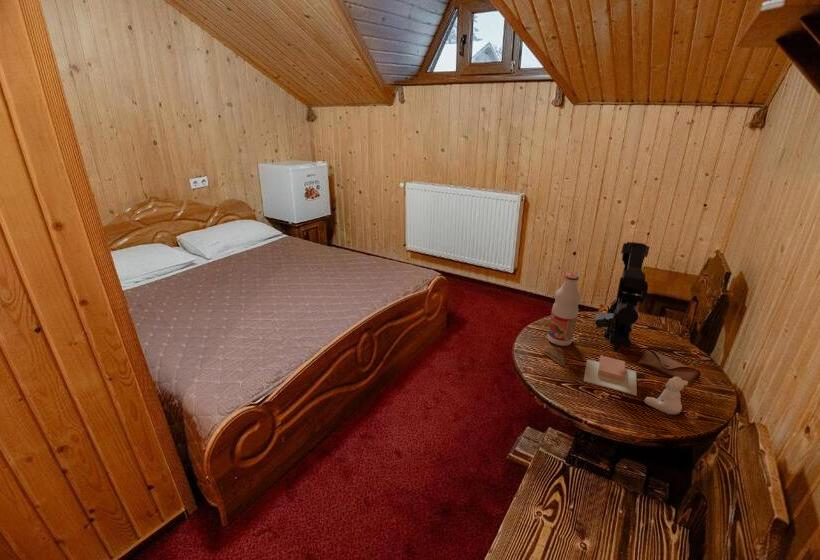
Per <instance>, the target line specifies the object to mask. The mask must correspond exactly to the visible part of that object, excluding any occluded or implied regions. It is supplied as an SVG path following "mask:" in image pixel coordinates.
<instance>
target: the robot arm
mask: <svg viewBox="0 0 820 560" xmlns="http://www.w3.org/2000/svg"><path fill="white" fill-rule="evenodd" d="M649 250H650V246H649V245H647V244H645V243H642V242H635V241H634V242H633V241H632V242H630V241H627V242H625V243H622V247H621V250H620V254H621V255H622V256H621V260H622V263H623V265H624V266H623V271H622V275H621V276H620V278H619V282H618V287H617V292H616V298H615V299H614V300H613V301H611V303H610V306H609V307H608V308H607V310H606V312H605V313H596V314H595V316H594V321H595V327H596V328H597V329H602V328H603V329H604V328H605V329H604V334H603V337H604V338H606V339H607V338H608V339H609V340H608V343H609V344H610V345H613V352H614V353H615V352H616V353H618V351H620V350H621V349H622V348H627V349H630V348H631V346H632V336H631V334H630V333H632V331H633V330H632V326H633V324H635V323H636V322H637V321H638V318H639V308H638V305H639V303H644V301H645V300H646V299H647V296H648V292H649V291H648V290H649V284H648V281H646V274H645V273H644V272H643V270H642V269H643V263H644V259H645V258H648V255H649Z"/></svg>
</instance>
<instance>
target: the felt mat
mask: <svg viewBox="0 0 820 560" xmlns="http://www.w3.org/2000/svg"><path fill="white" fill-rule="evenodd" d="M598 366H599V361H595V360H592V359H588V358H587V359H586V363H585V369H584V376H583V382H584V383H589V384H592V385H596V386H598V387H599V386H600V387H604V388H606V389H610V390H613V391H617V392H621V393H625V394H629V395H632V396H636V397H637V394H638V393H637V391H638V389H637V388H638V387H637V371H634V370H631V369H627V368H625V378H624V382H623V383H622V382H618V381H614V380H611V379H607V378H603V377H599V376H597V375H598Z"/></svg>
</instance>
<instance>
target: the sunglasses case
mask: <svg viewBox="0 0 820 560" xmlns="http://www.w3.org/2000/svg"><path fill="white" fill-rule="evenodd" d="M637 364H639V365H641V366H644V367H646V368H649V369H651V370H653V371H656V372H658V373H660V374H662V375H664V376H666V377H669V378H670V379H672V378H673V377H679V378H681V379H682V380H683V381H688V384H687V385H686V386H688V387H691V385H692V384H694V383H695V382H696V381H697V380H699V379H700V377H701V371H700V370H698V369H697V368H694V367H692V366H688V365H687V364H685V363H684V364H683V363H682V362H680V361H677V360H675V359H673V358H671V357H668V356H665V355H663V354H661V353H658V352H656V351H654V350H652V349H649V348H647V349H646V351H645V352H644V354H643V355H642V357H640V360H639V361H638V362H637Z"/></svg>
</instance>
